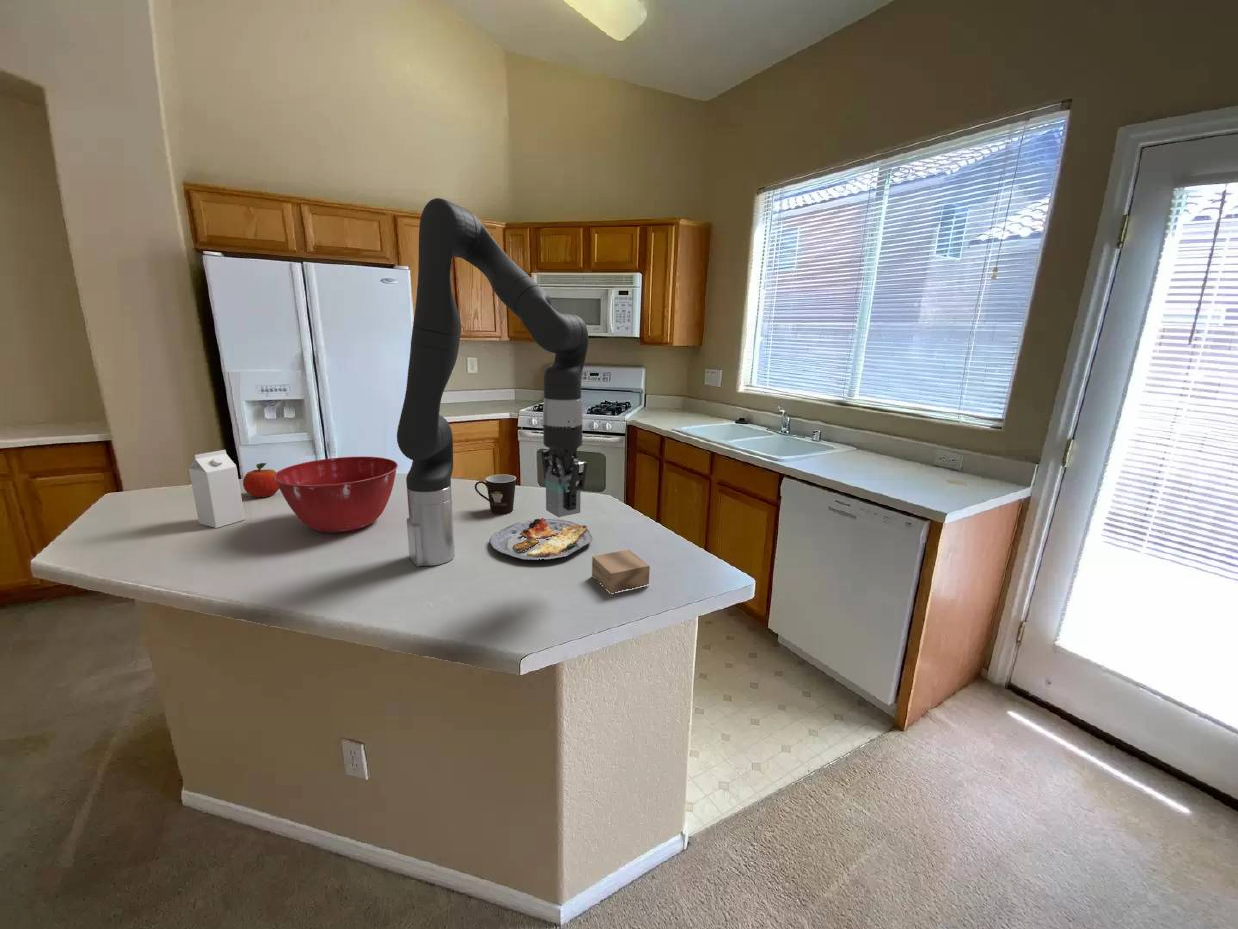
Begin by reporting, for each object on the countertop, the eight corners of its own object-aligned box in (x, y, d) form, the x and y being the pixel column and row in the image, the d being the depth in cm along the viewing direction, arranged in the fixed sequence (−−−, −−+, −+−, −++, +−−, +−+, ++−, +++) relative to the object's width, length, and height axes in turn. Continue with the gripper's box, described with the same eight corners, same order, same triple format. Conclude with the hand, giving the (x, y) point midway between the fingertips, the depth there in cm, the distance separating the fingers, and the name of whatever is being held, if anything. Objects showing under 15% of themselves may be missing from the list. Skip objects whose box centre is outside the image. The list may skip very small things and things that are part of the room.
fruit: (238, 501, 150) (233, 468, 147) (253, 491, 159) (249, 460, 156) (274, 499, 152) (269, 467, 149) (287, 490, 161) (283, 460, 158)
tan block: (610, 596, 102) (611, 573, 101) (591, 577, 110) (592, 556, 108) (648, 587, 106) (649, 565, 105) (628, 570, 114) (628, 549, 112)
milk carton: (198, 524, 131) (185, 453, 127) (228, 516, 138) (216, 448, 133) (216, 528, 129) (203, 456, 124) (245, 520, 135) (234, 451, 131)
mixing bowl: (292, 555, 115) (283, 490, 112) (272, 520, 136) (264, 464, 132) (417, 528, 133) (413, 472, 130) (383, 500, 154) (378, 451, 150)
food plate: (538, 519, 142) (538, 507, 141) (608, 538, 131) (608, 525, 130) (471, 551, 122) (471, 538, 121) (547, 577, 110) (547, 563, 109)
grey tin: (558, 517, 98) (558, 477, 96) (545, 510, 101) (545, 471, 100) (580, 512, 100) (580, 474, 99) (567, 505, 104) (567, 468, 102)
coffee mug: (522, 510, 150) (522, 477, 147) (501, 518, 143) (500, 484, 140) (495, 502, 156) (494, 471, 153) (473, 509, 149) (472, 477, 146)
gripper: (528, 418, 100) (529, 499, 104) (565, 429, 89) (565, 519, 93) (560, 415, 104) (561, 493, 108) (600, 425, 93) (599, 512, 97)
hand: (563, 505), depth 101 cm, fingers closed on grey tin, 5 cm apart
